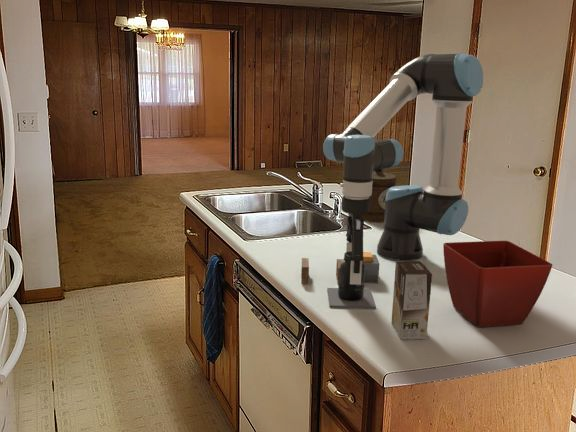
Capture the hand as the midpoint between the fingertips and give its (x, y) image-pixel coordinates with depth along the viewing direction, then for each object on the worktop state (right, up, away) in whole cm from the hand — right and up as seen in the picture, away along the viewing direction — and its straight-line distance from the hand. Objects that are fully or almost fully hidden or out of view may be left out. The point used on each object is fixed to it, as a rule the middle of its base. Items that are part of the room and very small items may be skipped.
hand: (352, 274), depth 148 cm
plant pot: (+33, -10, -7) cm, 36 cm away
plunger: (+5, -2, +17) cm, 17 cm away
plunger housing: (+5, -3, +17) cm, 18 cm away
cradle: (-7, -3, +15) cm, 17 cm away
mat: (0, -7, +2) cm, 7 cm away
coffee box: (+11, -12, -16) cm, 23 cm away
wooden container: (+19, +14, +86) cm, 89 cm away
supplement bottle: (0, -6, +2) cm, 7 cm away
